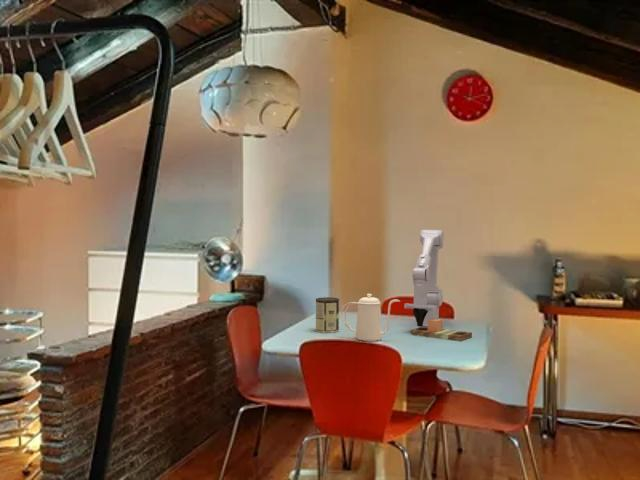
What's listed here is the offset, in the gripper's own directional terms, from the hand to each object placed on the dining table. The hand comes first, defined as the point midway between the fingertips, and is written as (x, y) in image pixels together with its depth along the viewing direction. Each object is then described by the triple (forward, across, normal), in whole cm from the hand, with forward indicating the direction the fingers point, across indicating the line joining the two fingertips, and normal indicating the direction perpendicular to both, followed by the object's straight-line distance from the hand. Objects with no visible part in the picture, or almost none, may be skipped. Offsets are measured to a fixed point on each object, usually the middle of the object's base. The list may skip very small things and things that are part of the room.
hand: (420, 326), depth 304 cm
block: (+1, +7, 0) cm, 7 cm away
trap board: (+3, +10, 0) cm, 10 cm away
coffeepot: (+3, -10, -25) cm, 27 cm away
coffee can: (+3, -35, -20) cm, 40 cm away
